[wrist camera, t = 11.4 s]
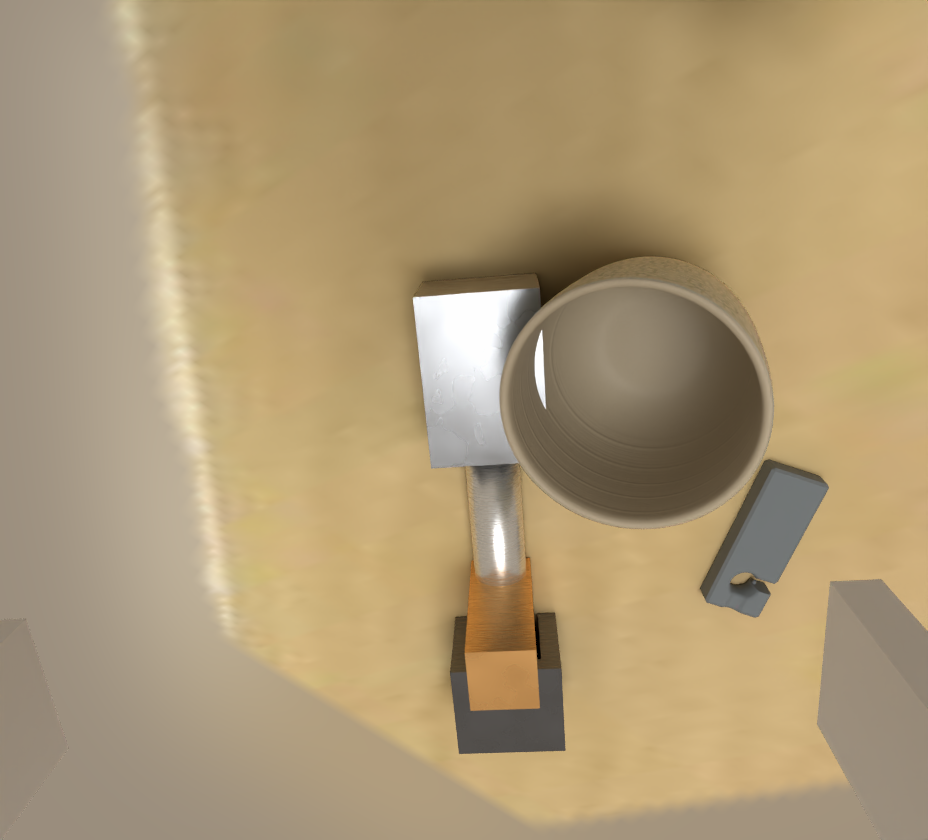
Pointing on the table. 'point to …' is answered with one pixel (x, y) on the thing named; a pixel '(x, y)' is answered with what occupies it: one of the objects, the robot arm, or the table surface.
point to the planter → (640, 395)
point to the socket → (513, 725)
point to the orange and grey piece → (499, 595)
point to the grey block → (471, 362)
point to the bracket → (763, 536)
